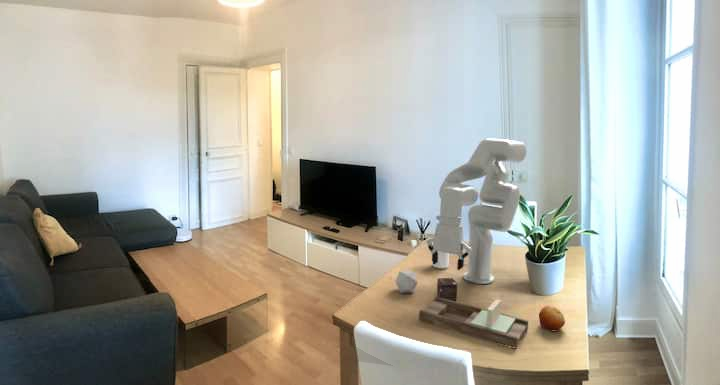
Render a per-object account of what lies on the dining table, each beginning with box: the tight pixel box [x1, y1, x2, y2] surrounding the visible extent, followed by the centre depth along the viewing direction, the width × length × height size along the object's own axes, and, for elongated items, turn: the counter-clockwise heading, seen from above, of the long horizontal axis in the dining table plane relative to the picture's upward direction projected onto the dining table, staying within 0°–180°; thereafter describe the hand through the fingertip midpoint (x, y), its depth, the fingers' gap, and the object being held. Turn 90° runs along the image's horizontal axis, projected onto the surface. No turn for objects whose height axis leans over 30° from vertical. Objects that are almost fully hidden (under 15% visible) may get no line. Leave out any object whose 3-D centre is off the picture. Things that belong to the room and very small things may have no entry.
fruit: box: [538, 305, 566, 331], centre depth 145 cm, size 8×8×8 cm
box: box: [436, 277, 458, 302], centre depth 166 cm, size 6×6×7 cm
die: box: [394, 270, 419, 294], centre depth 173 cm, size 8×9×10 cm
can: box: [432, 251, 450, 270], centre depth 199 cm, size 7×7×12 cm
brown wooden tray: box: [418, 296, 529, 349], centre depth 147 cm, size 14×32×3 cm, turn 56°
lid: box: [470, 298, 515, 334], centre depth 142 cm, size 11×11×6 cm
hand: (447, 266), depth 163 cm, fingers open, 9 cm apart
